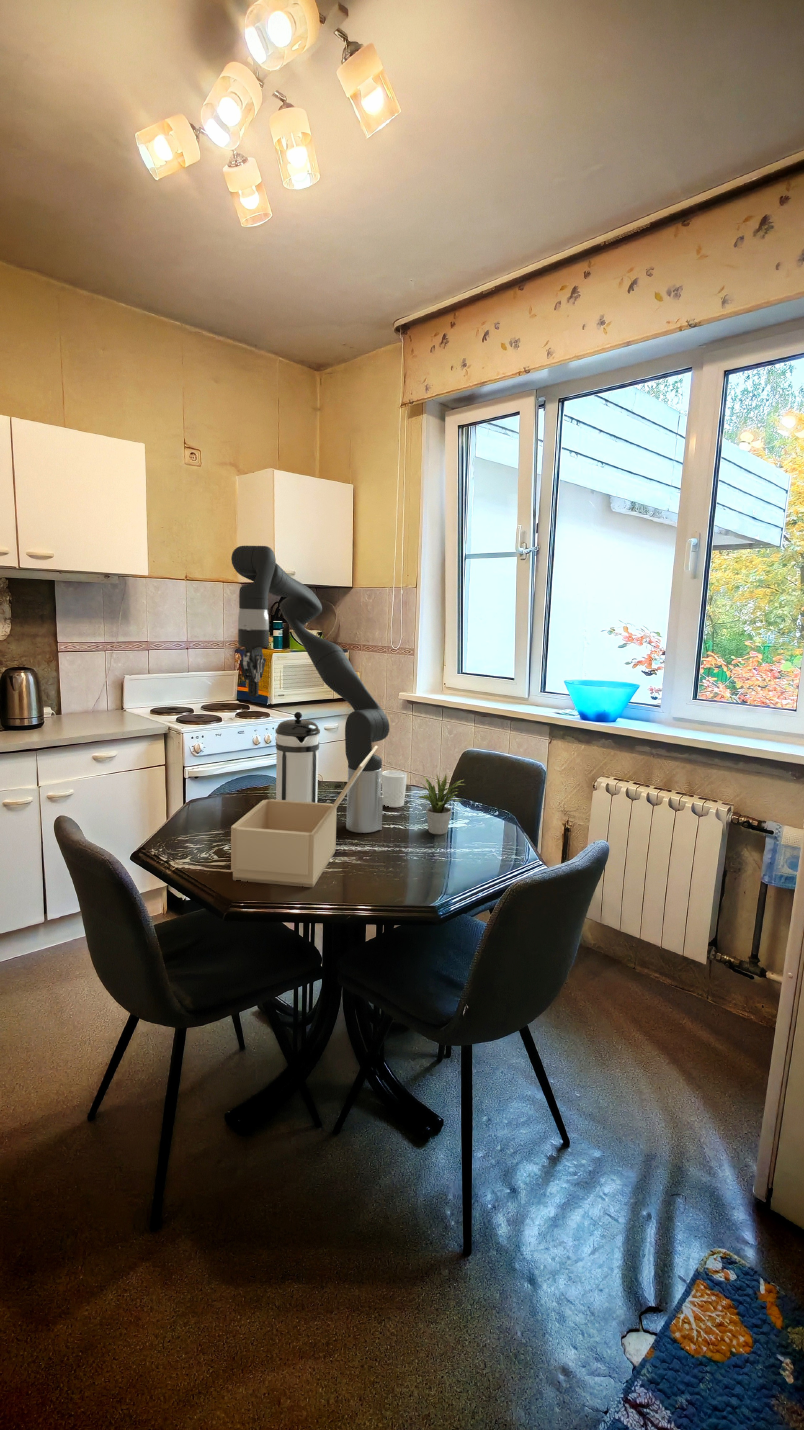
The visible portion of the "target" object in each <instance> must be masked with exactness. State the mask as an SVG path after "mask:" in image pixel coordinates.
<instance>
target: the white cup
mask: <svg viewBox="0 0 804 1430" xmlns="http://www.w3.org/2000/svg"><path fill="white" fill-rule="evenodd" d="M407 774H408V773H407V772H405V771H401V770H394V769H391V770H385V771H381V795H382V796H383V806H384V805H385V807H387V806H389V807H388V808H399V807H400V808H401V807H403V806H404V805H405V797H406V790H407V780H408V779H407V777H408V775H407Z"/></svg>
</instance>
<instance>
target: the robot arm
mask: <svg viewBox="0 0 804 1430" xmlns="http://www.w3.org/2000/svg"><path fill="white" fill-rule="evenodd" d="M276 561H277V559H276V555H275V553H274V550H273V549H272V548H271V547H269V546H267V545H240V546H237V547H235V549H233V551H232V553H231V565H232V567H233V569H234V570H235V571H236V573H237V574H239V576H241V577H243V578H246V579H247V580H249V581H252V582H251V583H249V584H244V585H241V586H240V588H239V592H238V594H239V596H238V599H239V601H238V617H237V618H238V619H237V645H238V646H239V647H242V648H243V647H244V652H243V655H242V656H243V659H242V660H240V662H239V664H240V665H239V666H240V667H241V668H240V669H241V672H242V675H243V678H244V680H245V681H247V682H248V683H247V695H248V697H250V698H252V697H254V698H255V697H258V696H259V695H260V694H259V693H260V692H259V689H260V688H259V684H260V683H259V682H260V681H261V679H262V678H263V674H264V671H265V666H266V662H267V659H266V658H265V657H264V654H263V653H264V652H263V648H268V647H269V645H270V638H269V637H270V618H269V594H271V595H273V596H276V597H283V598H285V599H283V600H282V601H281V602H280V603H279V609H280V613H281V614H282V616H283V617H284V619H285V621H286V622H287V623H288V625H289V627H290V628H291V630H292V631H293V633H294V634H295V636H296V637H297V638H298V640H299V641H300V643H301V644H302V647H303V648H304V649H305V651H306V653H307V655H308V657H309V658H310V661H311V662H312V664H313V666H314V668H315V670H316V671H317V673H318V674H319V676H320V678H321V680H322V681H323V683H324V684H325V685H326V686H327V687H328V688H329V689H330V690H331V691H333V692H334V693H336V694H337V695H338V696H340V697H341V698H342V699H343V700H345V701H346V702H347V703H348V704H349V705H350V707H351V708H352V709H353V711H352V712H350V713H349V714H348V716H347V717H346V720H345V725H344V743H345V744H344V745H345V757H346V760H347V783H348V782H349V780H350V779H351V777H352V776H353V774H354V773H355V771H356V770H357V768H358V767H359V765H360V764H361V763H362V762H363V761H364V759H365V758H366V757H367V756H368V755H369V753H370V752H371V751H372V750H373V748H372V745H373V744H372V743H376V742H381V741H382V740H385V739H386V738H387V737H388V735H389V733H390V722H389V718H388V717H387V715H386V714H385V711H384V710H383V708H382V707H381V706H380V705H379V703H378V702H377V701H376V699H375V698H374V697H373V696H372V694H371V693H370V692H369V690H368V689H367V687H366V686H365V685H364V682H363V681H362V680H361V678H360V677H359V675H358V674H357V671H355V669H354V667H353V665H352V664H351V662H350V660H349V658H348V657H347V655H346V653H345V652H344V650H343V648H342V647H340V646H339V645H337V643H335V642H332V641H330V640H327V639H325V638H322V637H320V636H317V635H316V634H314V633H312V632H311V631H309V630H307V629H306V627H305V625H306V624H308V623H310V622H311V621H313V620H314V619H315V618H317V617H318V616H319V615H320V614H321V613H322V612H323V605H322V603H321V601H320V600H319V598H318V596H317V595H316V594H315V592H313V591H312V589H310V588H309V587H308V586H307V585H305V584H303V583H302V582H300V581H299V580H297V579H295V578H294V577H292V576H290V575H289V574H288V573H287V572H286V571H285V570H284V569H283V568H282V567H281V566H280V565H279V564H277V562H276ZM382 766H383V759H382V758H381V756H379V755H378V754H377V755H376V754H375V753H374V754H373V755H372V757H371V758H370V760H369V761H368V762H367V764H366V765H365V767H364V768H363V770H362V771H361V773H360V774H359V776H358V777H357V779H356V780H355V782H354V783H353V785H352V786H351V788H350V789H349V791H348V792H347V794H346V819H345V822H346V825H345V827H346V829H347V830H348V831H349V832H353V833H359V834H362V833H363V834H367V833H374V832H377V831H381V830H382V829H383V828H382V827H383V806H384V805H383V796H382V772H383V771H382V770H383V768H382Z"/></svg>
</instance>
